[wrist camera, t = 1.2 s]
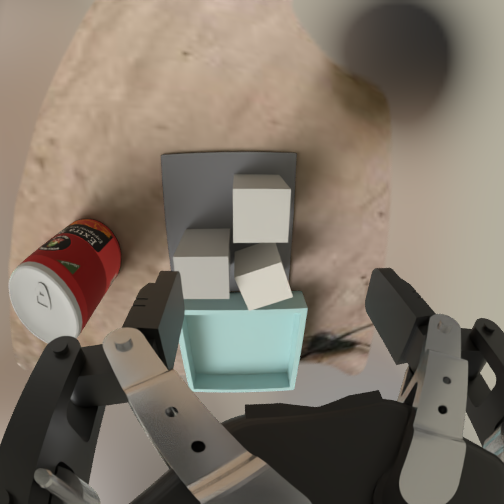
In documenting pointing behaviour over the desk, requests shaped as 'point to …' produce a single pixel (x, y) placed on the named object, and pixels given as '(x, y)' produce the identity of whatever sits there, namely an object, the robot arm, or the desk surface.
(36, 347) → the desk surface
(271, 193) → the stone
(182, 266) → the stone
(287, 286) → the stone
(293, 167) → the mat
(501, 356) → the robot arm
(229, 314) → the bin
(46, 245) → the canned food
